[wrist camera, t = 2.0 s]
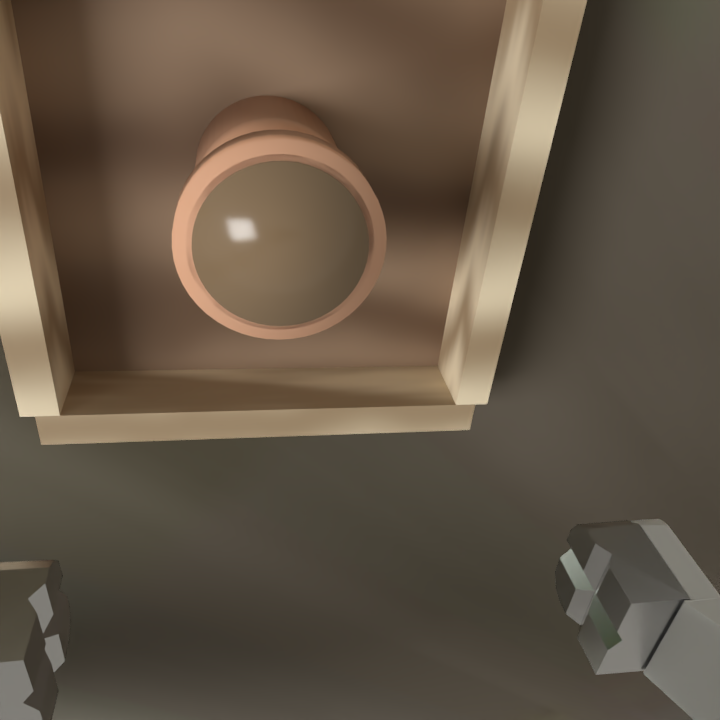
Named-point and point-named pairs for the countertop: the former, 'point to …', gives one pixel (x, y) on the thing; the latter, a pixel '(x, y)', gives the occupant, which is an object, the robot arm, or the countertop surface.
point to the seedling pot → (276, 223)
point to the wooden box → (177, 160)
